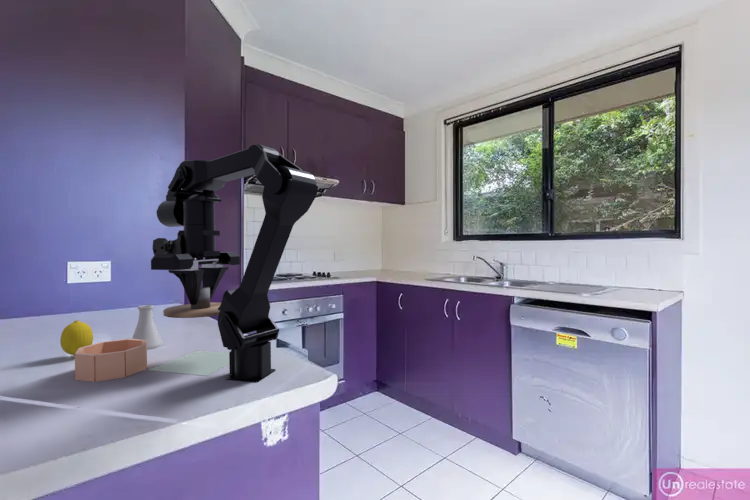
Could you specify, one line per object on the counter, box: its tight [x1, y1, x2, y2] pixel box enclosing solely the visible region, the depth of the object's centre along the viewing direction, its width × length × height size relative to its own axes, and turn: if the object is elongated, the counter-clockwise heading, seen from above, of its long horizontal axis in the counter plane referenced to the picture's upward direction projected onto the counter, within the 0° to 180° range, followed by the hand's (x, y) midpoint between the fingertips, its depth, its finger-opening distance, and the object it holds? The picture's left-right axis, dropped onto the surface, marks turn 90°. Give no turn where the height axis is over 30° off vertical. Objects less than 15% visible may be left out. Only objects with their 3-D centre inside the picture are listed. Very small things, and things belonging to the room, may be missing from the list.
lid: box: [162, 286, 222, 319], centre depth 74 cm, size 13×13×5 cm
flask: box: [131, 304, 165, 351], centre depth 86 cm, size 7×7×10 cm
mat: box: [148, 350, 229, 377], centre depth 74 cm, size 13×13×1 cm
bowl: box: [74, 338, 148, 382], centre depth 70 cm, size 11×11×5 cm
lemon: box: [59, 320, 94, 357], centre depth 80 cm, size 6×6×8 cm
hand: (200, 303), depth 74 cm, fingers closed on lid, 4 cm apart
